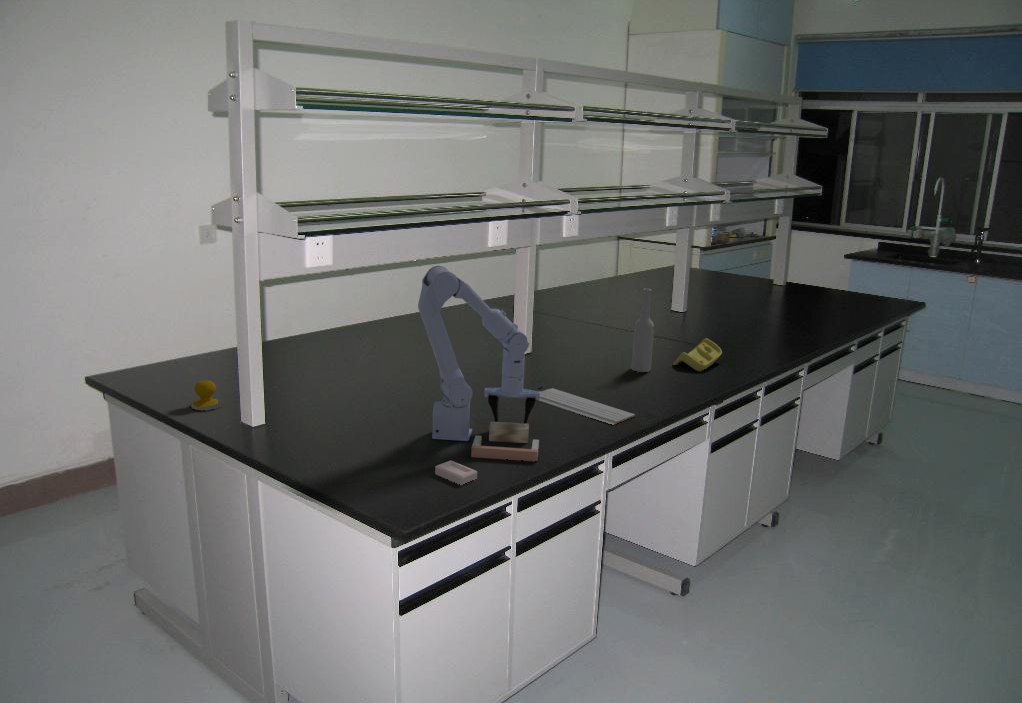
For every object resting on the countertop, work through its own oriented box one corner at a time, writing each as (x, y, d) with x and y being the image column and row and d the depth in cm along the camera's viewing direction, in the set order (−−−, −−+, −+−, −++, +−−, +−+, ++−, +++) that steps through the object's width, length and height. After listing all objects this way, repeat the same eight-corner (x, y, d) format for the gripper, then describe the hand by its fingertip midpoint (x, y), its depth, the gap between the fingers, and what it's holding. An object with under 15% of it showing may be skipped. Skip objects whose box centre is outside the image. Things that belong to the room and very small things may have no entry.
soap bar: (450, 468, 189) (450, 459, 188) (478, 480, 183) (478, 470, 182) (433, 475, 185) (434, 465, 184) (461, 487, 179) (461, 477, 178)
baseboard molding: (609, 429, 218) (634, 419, 227) (610, 419, 218) (635, 409, 226) (525, 400, 239) (551, 392, 247) (526, 391, 238) (552, 383, 246)
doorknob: (195, 413, 216) (187, 405, 222) (225, 408, 221) (216, 400, 227) (194, 387, 214) (185, 379, 220) (224, 382, 219) (214, 375, 225)
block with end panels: (471, 457, 195) (471, 447, 194) (475, 444, 202) (475, 435, 202) (536, 461, 193) (537, 452, 193) (538, 449, 201) (539, 439, 200)
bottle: (634, 373, 269) (641, 291, 261) (628, 367, 275) (634, 287, 267) (653, 372, 270) (660, 291, 263) (646, 367, 276) (653, 287, 269)
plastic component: (704, 366, 271) (680, 349, 275) (693, 383, 275) (670, 366, 279) (726, 351, 286) (703, 335, 290) (716, 366, 290) (693, 350, 294)
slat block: (488, 441, 205) (489, 427, 204) (490, 435, 209) (490, 421, 208) (527, 443, 205) (528, 429, 204) (528, 438, 209) (528, 423, 208)
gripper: (541, 371, 212) (538, 420, 216) (487, 368, 213) (485, 416, 217) (540, 379, 205) (537, 429, 209) (484, 376, 206) (482, 425, 210)
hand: (510, 423), depth 212 cm, fingers open, 7 cm apart
